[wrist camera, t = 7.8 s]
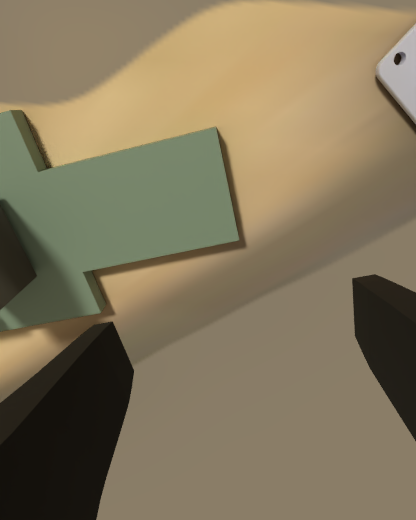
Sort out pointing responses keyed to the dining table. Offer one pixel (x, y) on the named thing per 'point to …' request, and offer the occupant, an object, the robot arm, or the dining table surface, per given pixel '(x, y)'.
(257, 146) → the dining table surface
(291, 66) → the dining table surface
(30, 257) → the green long flat piece
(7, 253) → the block ended dumbbell
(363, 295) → the robot arm
